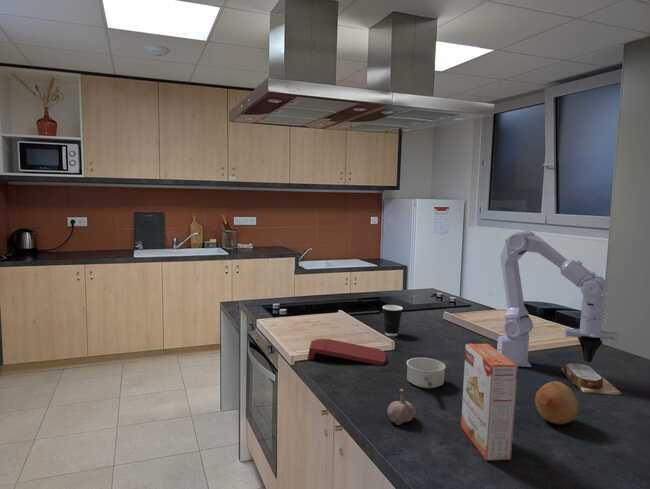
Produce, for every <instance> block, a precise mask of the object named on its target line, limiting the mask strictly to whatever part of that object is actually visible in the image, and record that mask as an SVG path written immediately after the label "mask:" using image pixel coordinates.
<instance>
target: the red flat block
mask: <svg viewBox="0 0 650 489" xmlns="http://www.w3.org/2000/svg"><path fill="white" fill-rule="evenodd" d="M308 349H309V351H308V355H307V360H314V359H315V356H316V354H320V355H321V354H322V355H326V356H330V357H337V358H341V359H347V360H351V361H356V362H361V363H366V364H372V365H376V366H383V365H385V364H387V357H386V356H387V355H386V352H385V351H383V350H382V349H380V348H376V347H370V346H365V345H360V344H355V343H352V342H351V343H349V342H345V341H340V340H336V339H330V338H319V339H316V338H315V339H314V340H311V342H310V346H309V348H308Z"/></svg>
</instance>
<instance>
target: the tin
mask: <svg viewBox="0 0 650 489" xmlns="http://www.w3.org/2000/svg"><path fill="white" fill-rule="evenodd" d="M563 368H564V373H563V374H564V375H565V376H566V377H567V379H568V380H569V381H570V382H571V383H572V384H573V385H575V386H577V387H578V386H580V387H584V388H588V389H601V388H602V387H603V378H604V377H603V376H602V375H601V374H599V372H597V371H596V369H594V368H593V367H592V366H590V365H587V364H583V363H572V362H567V363H565V364H564V366H563ZM600 375H601V376H602V377H603V378H602V377H601V376H600Z"/></svg>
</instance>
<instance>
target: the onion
mask: <svg viewBox="0 0 650 489" xmlns="http://www.w3.org/2000/svg"><path fill="white" fill-rule="evenodd" d="M534 403H535V407H536V410H537V412H538V414H539V415H541V417H542V418H544V420H546V421H548V422H549V423H552V424H555V425H565V424H569V423H570V422H572V421H573V420H574V419H575V418H576V417H577V415H578V414H579V411H580V407H581V406H580V403H579V400H578V398H577V395H576V394H575V392H574V391H573V390H572V389H571V388H570V387H569V386H568V385H567V384H565V383H563V382H560V381H556V380H555V381H549V382H547V383H545V384H544V385H541V387H540V388H538V390H537V391H536V393H535V397H534Z"/></svg>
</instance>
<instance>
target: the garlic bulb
mask: <svg viewBox="0 0 650 489" xmlns="http://www.w3.org/2000/svg"><path fill="white" fill-rule="evenodd" d="M398 391H399V397H400V398H399V401H398V400H395V401H392V402H391V403H390V404H389V405H388V407H387V410H386V413H387V416H388V418H389V420H390V421H391V422H393V423H394V424H395V425H398V426H400V425H402V424H403V423H408V422H410V421H412V420H413V419H414V417H415V415H416V407H415V405H414V404H412V403H411V402H409V401H407V400H405V391H404V388H400V389H399V390H398Z"/></svg>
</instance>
